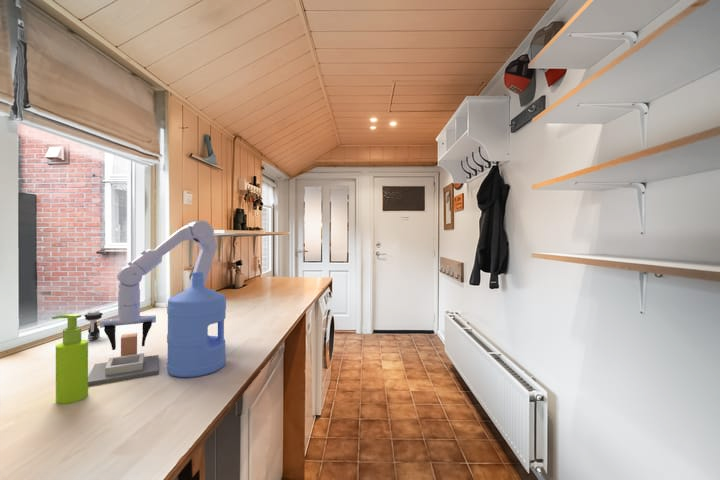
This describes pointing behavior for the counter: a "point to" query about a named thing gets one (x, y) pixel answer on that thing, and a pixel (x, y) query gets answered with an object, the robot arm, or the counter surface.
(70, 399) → the soap dispenser
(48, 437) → the counter surface
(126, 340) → the wooden peg
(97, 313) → the caster wheel
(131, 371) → the mounting socket
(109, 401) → the counter surface
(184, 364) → the water jug
